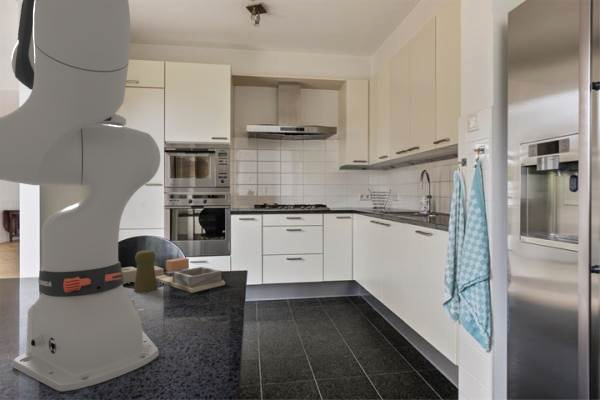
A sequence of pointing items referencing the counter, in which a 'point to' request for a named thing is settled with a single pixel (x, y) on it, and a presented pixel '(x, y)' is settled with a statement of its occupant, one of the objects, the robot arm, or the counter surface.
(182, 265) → the block
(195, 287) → the rail panel
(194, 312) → the counter surface
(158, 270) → the electrical outlet
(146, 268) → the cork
